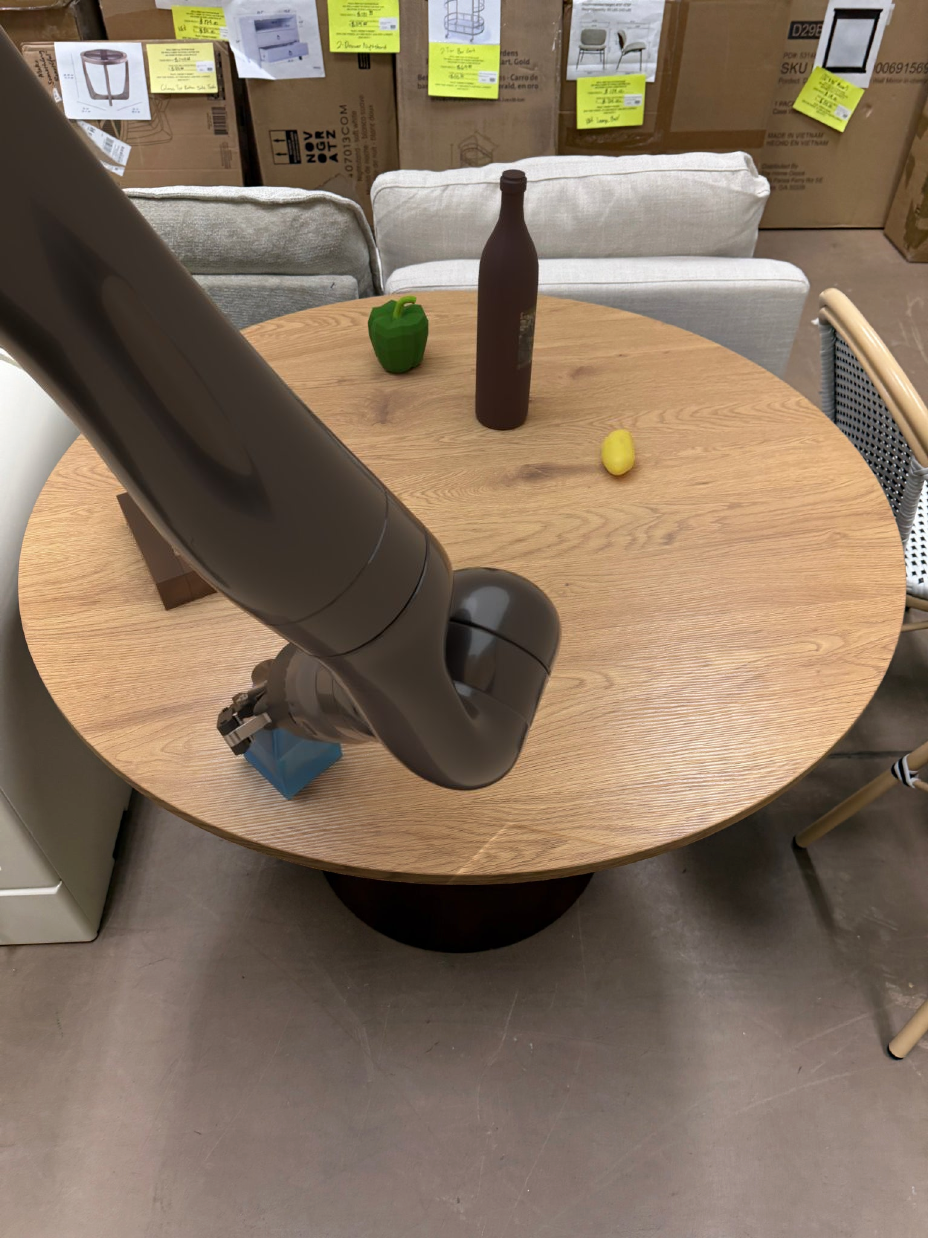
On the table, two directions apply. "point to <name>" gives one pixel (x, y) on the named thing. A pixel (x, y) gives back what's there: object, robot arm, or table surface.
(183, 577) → the holder
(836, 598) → the table surface
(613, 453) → the lemon
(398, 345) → the bell pepper
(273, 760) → the perfume bottle
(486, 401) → the wine bottle
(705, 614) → the table surface
